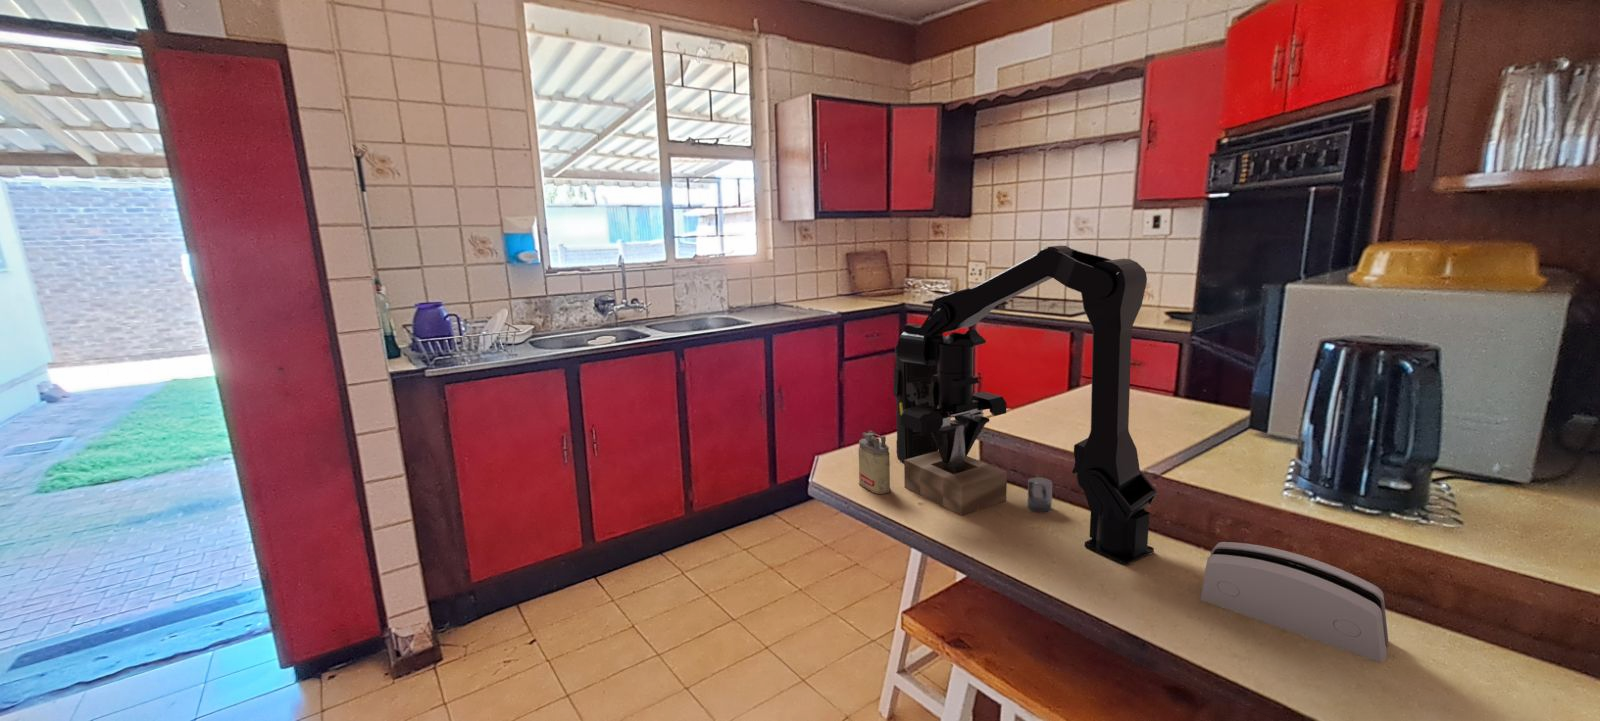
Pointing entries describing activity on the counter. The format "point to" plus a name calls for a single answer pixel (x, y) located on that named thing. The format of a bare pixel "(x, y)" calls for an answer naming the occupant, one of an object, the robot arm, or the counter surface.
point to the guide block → (956, 483)
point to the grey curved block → (1298, 596)
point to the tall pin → (957, 449)
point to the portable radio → (909, 439)
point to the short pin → (1039, 495)
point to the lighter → (874, 463)
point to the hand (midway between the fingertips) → (954, 460)
